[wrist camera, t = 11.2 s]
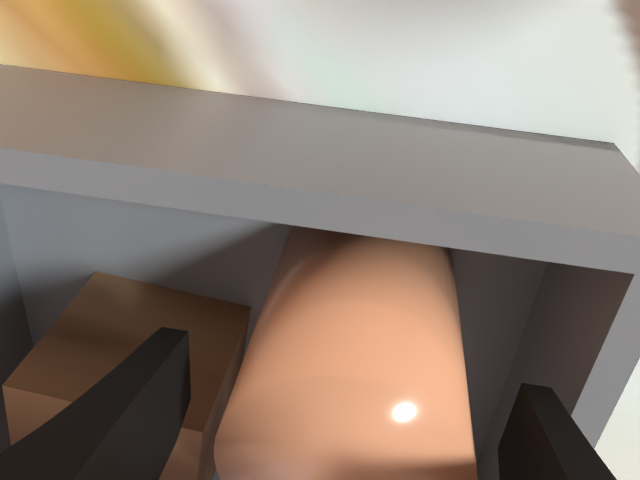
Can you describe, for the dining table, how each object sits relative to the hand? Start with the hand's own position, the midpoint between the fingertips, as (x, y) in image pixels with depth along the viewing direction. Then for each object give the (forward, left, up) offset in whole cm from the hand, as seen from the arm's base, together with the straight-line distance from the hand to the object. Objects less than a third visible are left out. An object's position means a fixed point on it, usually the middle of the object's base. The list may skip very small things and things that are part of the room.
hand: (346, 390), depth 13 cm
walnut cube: (-4, +6, -5) cm, 9 cm away
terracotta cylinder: (0, 0, -5) cm, 5 cm away
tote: (-2, +3, -6) cm, 7 cm away
